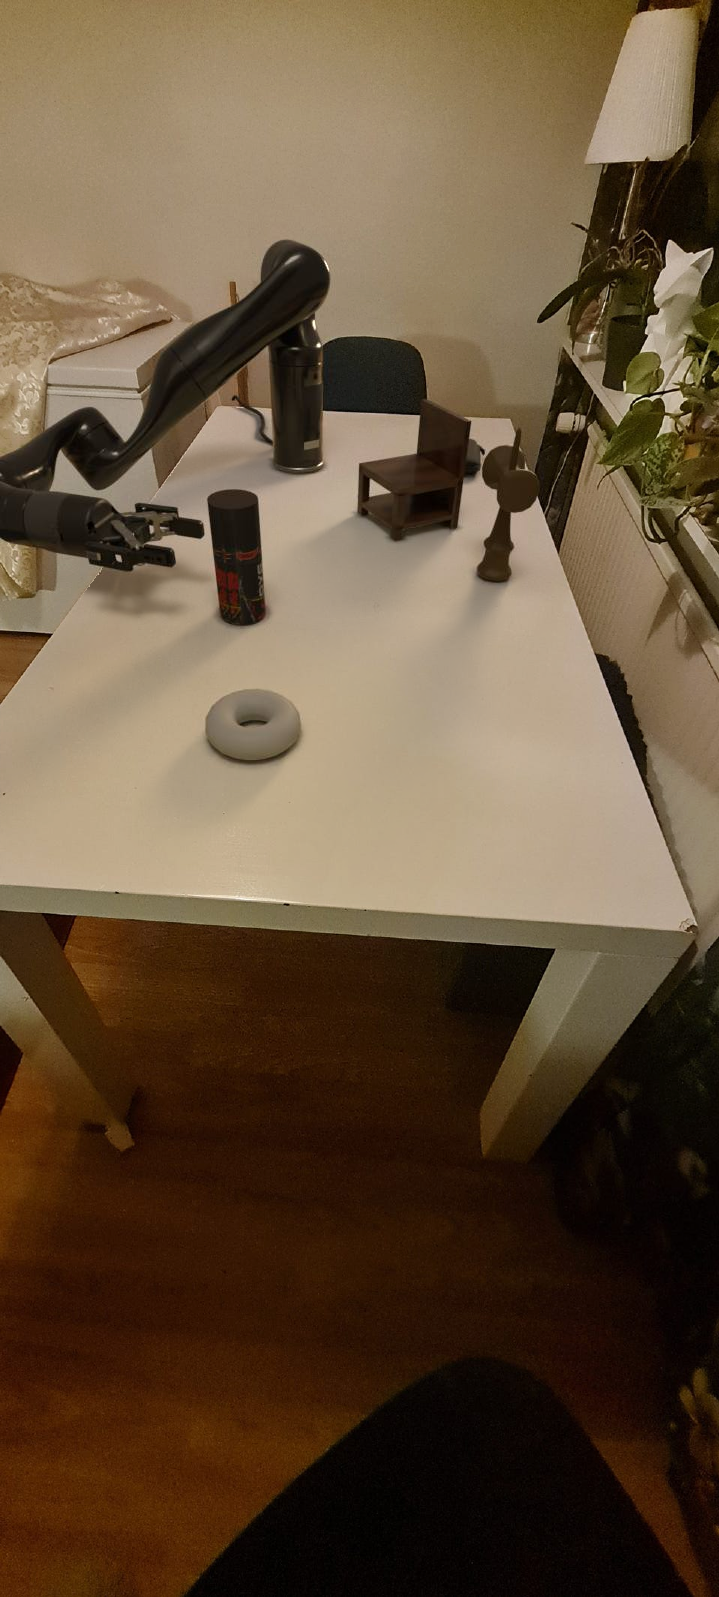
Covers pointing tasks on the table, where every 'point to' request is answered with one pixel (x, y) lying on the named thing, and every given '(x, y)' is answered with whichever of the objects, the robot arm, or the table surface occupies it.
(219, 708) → the donut
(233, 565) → the deodorant
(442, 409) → the miniature wooden chair
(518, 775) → the table surface
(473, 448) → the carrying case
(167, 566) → the robot arm
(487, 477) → the kendama
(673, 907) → the table surface
